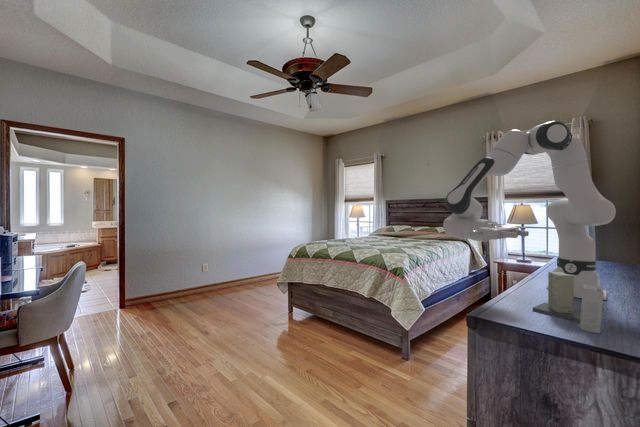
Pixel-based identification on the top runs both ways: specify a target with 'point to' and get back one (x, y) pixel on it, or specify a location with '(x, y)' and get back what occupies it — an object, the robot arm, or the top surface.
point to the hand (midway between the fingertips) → (522, 234)
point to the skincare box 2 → (591, 308)
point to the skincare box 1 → (561, 292)
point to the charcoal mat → (546, 310)
